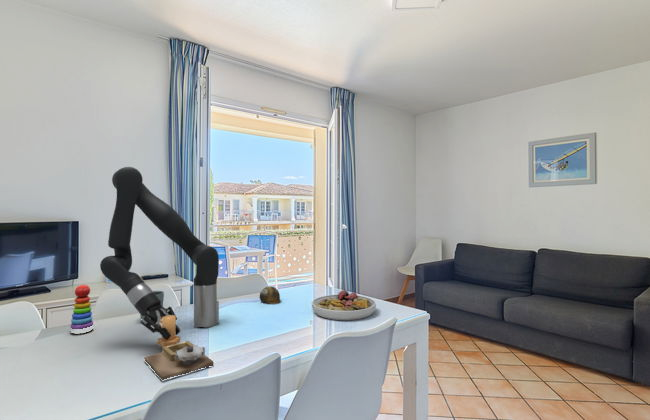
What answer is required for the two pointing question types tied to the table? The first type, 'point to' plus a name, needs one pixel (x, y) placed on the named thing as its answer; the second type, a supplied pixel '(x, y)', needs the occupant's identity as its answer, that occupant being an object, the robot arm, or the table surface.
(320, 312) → the bowl
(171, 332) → the orange gear spindle
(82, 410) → the table surface
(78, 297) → the stacking toy
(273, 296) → the seashell
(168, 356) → the gear board
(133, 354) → the table surface
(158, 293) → the grey cup
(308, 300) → the table surface
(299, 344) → the table surface
